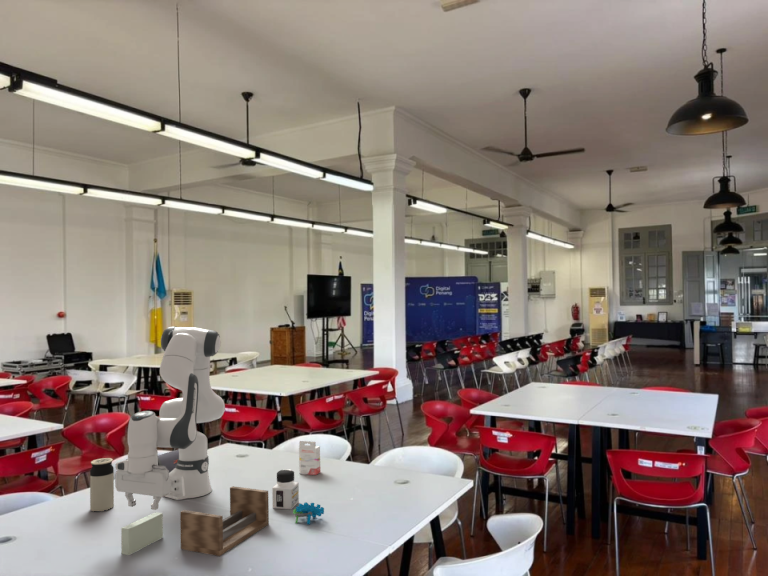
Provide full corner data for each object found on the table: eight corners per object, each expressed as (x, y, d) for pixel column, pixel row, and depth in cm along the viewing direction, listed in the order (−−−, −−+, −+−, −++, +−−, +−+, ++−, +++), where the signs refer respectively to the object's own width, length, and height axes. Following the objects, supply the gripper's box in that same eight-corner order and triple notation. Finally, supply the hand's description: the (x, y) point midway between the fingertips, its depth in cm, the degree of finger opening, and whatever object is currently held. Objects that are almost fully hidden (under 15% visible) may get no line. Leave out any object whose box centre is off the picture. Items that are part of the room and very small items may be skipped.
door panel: (121, 554, 171) (121, 527, 172) (155, 536, 184) (155, 512, 184) (128, 555, 170) (128, 529, 170) (162, 537, 183) (162, 513, 183)
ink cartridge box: (321, 472, 252) (320, 439, 253) (316, 475, 248) (316, 442, 248) (303, 470, 255) (303, 438, 255) (299, 474, 250) (298, 441, 251)
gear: (328, 512, 198) (319, 499, 191) (326, 529, 194) (317, 516, 187) (299, 515, 200) (289, 502, 194) (297, 531, 196) (286, 518, 189)
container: (291, 509, 206) (291, 474, 206) (272, 508, 208) (271, 473, 208) (299, 502, 214) (298, 468, 214) (280, 501, 215) (279, 467, 216)
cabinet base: (180, 548, 174) (180, 511, 174) (233, 518, 198) (232, 486, 198) (219, 556, 168) (219, 517, 169) (268, 524, 192) (268, 490, 193)
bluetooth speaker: (160, 480, 244) (160, 457, 245) (147, 477, 249) (147, 455, 250) (202, 467, 264) (202, 446, 264) (189, 464, 269) (189, 444, 269)
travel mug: (118, 506, 213) (118, 458, 214) (100, 513, 206) (99, 464, 207) (104, 503, 217) (103, 457, 217) (85, 510, 209) (85, 462, 210)
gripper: (175, 463, 177) (176, 507, 176) (127, 458, 185) (127, 501, 184) (160, 469, 171) (161, 514, 171) (111, 463, 179) (111, 507, 178)
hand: (143, 507), depth 177 cm, fingers open, 8 cm apart
